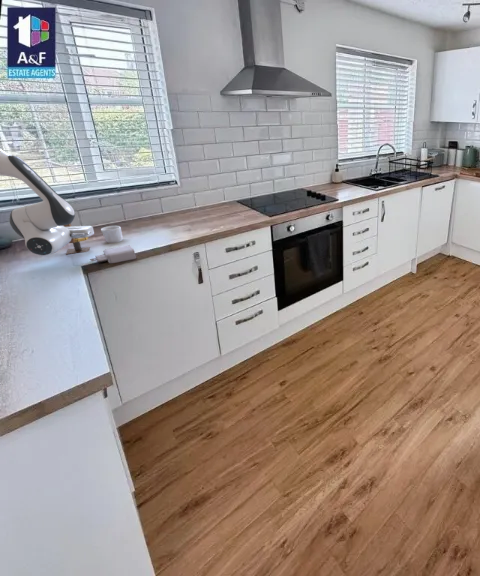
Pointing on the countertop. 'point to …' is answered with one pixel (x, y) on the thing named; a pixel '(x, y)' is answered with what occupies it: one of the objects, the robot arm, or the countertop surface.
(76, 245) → the stand
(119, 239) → the cup
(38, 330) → the countertop surface
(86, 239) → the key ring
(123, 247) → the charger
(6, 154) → the robot arm
